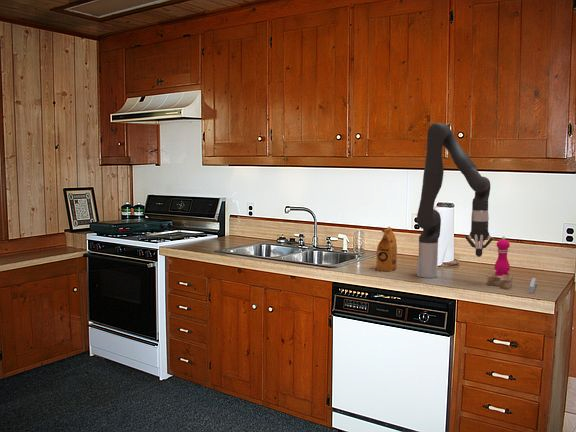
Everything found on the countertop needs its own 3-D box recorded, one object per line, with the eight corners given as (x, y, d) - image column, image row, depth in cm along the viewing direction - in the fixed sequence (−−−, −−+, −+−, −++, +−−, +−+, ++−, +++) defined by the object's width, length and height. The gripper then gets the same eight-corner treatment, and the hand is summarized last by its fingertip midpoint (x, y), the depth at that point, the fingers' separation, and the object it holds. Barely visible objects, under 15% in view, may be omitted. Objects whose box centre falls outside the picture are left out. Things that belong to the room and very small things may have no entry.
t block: (485, 286, 255) (486, 278, 255) (489, 281, 266) (489, 273, 265) (509, 289, 251) (509, 280, 250) (511, 283, 261) (512, 275, 261)
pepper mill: (505, 274, 280) (507, 235, 278) (512, 277, 273) (513, 237, 270) (491, 274, 280) (493, 235, 277) (497, 278, 273) (499, 237, 270)
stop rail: (529, 293, 244) (529, 286, 244) (532, 284, 260) (532, 277, 260) (532, 293, 243) (533, 286, 243) (535, 284, 259) (535, 278, 259)
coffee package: (373, 270, 290) (373, 228, 287) (381, 266, 301) (382, 226, 298) (391, 272, 285) (392, 230, 282) (399, 268, 296) (400, 227, 293)
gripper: (463, 220, 259) (462, 256, 261) (493, 221, 253) (492, 259, 254) (466, 218, 265) (465, 254, 267) (495, 219, 259) (494, 256, 261)
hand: (478, 256), depth 261 cm, fingers closed
